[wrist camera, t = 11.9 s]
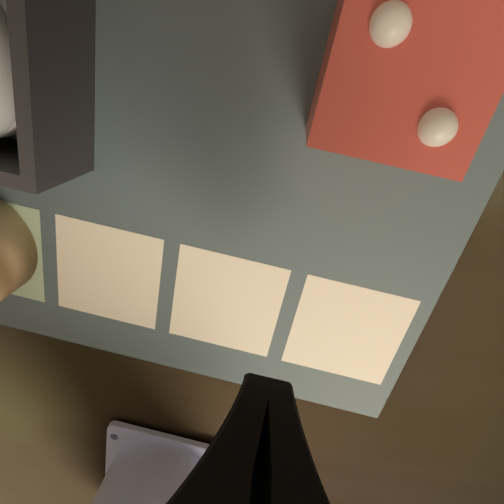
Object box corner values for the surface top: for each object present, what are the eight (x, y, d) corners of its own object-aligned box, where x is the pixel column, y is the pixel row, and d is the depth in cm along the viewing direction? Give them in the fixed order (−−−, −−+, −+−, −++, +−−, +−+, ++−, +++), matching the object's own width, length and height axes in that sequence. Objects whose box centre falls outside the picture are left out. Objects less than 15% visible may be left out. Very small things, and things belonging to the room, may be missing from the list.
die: (417, 153, 13) (469, 186, 9) (305, 128, 13) (306, 149, 9) (469, 21, 11) (563, -12, 7) (339, -7, 11) (360, -56, 7)
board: (373, 402, 19) (393, 488, 15) (-100, 285, 20) (-203, 337, 16) (557, 28, 12) (691, 0, 8) (-211, -139, 12) (-462, -246, 8)
